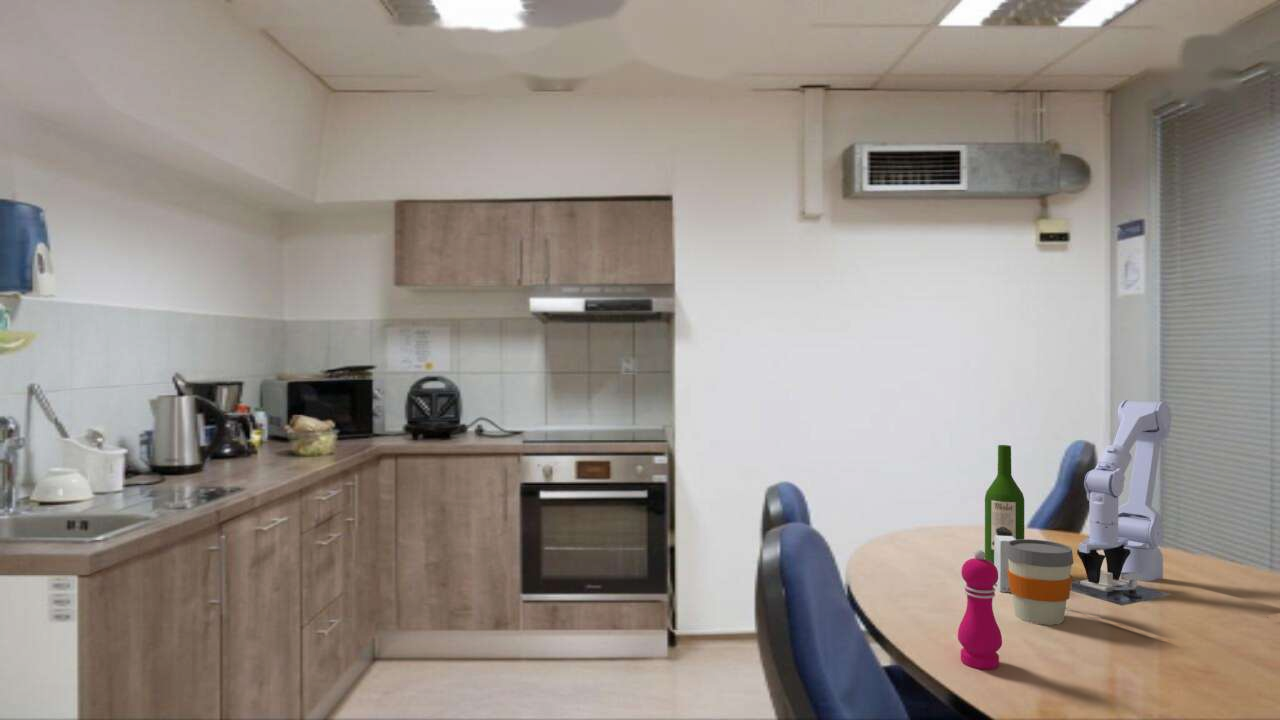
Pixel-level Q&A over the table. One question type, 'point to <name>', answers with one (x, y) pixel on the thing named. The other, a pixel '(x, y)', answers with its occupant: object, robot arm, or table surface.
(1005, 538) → the skincare box
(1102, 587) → the cover
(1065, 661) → the table surface
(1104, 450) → the robot arm
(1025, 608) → the reusable coffee cup
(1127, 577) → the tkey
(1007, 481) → the wine bottle
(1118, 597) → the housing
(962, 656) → the pepper mill
